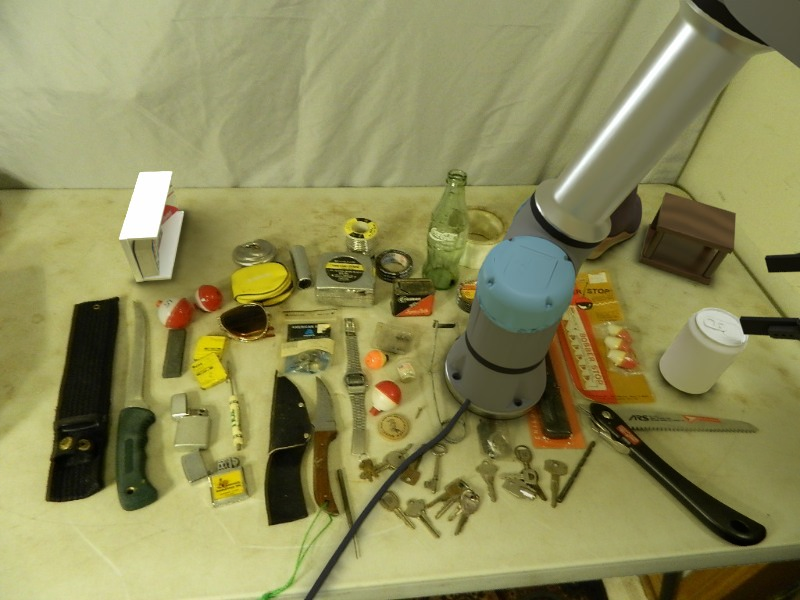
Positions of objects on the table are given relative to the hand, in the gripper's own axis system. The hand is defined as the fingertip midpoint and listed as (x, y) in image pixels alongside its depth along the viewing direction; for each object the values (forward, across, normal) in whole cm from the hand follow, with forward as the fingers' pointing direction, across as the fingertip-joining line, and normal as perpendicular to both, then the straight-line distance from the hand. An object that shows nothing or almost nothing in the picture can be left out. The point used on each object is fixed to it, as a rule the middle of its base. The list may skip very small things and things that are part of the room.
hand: (754, 293), depth 76 cm
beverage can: (+10, -7, -11) cm, 17 cm away
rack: (+20, +22, -8) cm, 30 cm away
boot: (+30, +19, 0) cm, 36 cm away
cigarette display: (+77, -39, +45) cm, 97 cm away
